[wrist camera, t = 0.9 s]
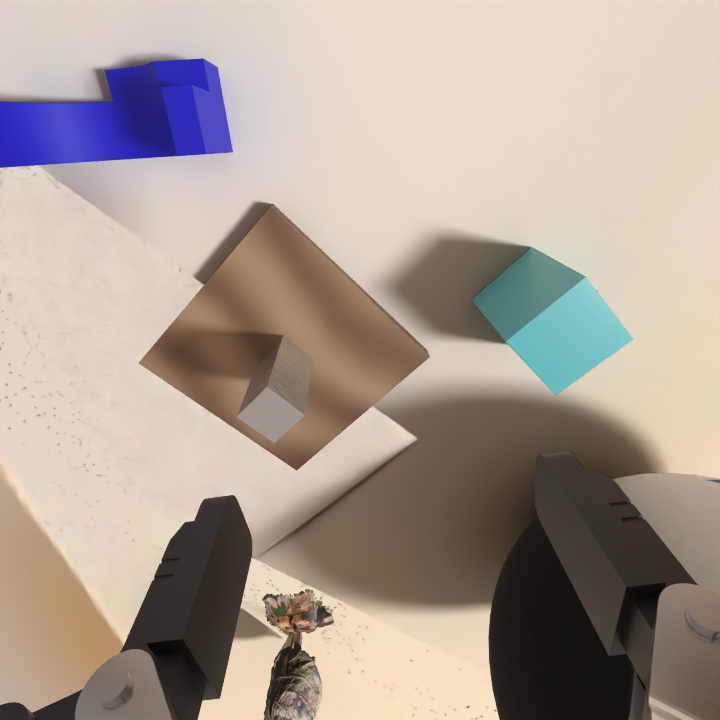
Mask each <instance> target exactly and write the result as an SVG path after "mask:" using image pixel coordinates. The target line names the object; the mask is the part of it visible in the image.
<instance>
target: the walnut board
mask: <svg viewBox="0 0 720 720" xmlns="http://www.w3.org/2000/svg"><path fill="white" fill-rule="evenodd" d="M283 335H284V336H285V337H286V338H287V339H289V340H290V341H291V342H292V343H293V344H295V345H296V346H297V347H298V348H300V349H301V350H302V351H303V352H304V353H306V354H307V355H308V356H309V357H311V358H312V359H313V363H312V370H311V377H310V384H309V392H308V399H307V406H306V413H305V416H304V417H303V418H302V419H300V420H299V421H298V422H297V423H296V424H295V425H294V426H293V427H292V428H291V429H289V430H288V431H287V432H286V433H285V434H284V435H283V436H282V437H281V438H280V439H278V440H277V441H276V442H275V443H273V442H272V441H270V440H269V439H268V438H266V437H265V436H263V435H262V434H260V433H259V432H257V431H256V430H255V429H253V428H252V427H250V426H249V425H247V424H246V423H244V422H243V421H242V420H240V419H239V418H237V414H238V412H239V409H240V406H241V404H242V401H243V399H244V396H245V394H246V391H247V388H248V386H249V383H250V381H251V378H252V376H253V373H254V370H255V368H256V365H257V363H258V360H259V359H260V358H261V357H262V356H263V355H264V354H265V353H266V352H267V351H268V350H269V349H270V348H271V347H272V346H273V345H274V344H275V343H276V342H277V341H278V340H279V339H280V338H281V337H282V336H283ZM429 357H430V356H429V354H428V351H427V350H426V349H425V348H424V347H423V346H422V345H421V344H420V343H419V342H418V341H417V340H416V339H415V338H414V337H413V336H412V335H411V334H409V333H408V332H407V331H406V330H405V329H404V328H403V327H402V326H401V325H400V324H399V323H398V322H397V321H396V320H395V319H394V318H393V317H392V316H390V315H389V314H388V313H387V312H386V311H385V310H384V309H383V308H382V307H381V306H380V305H379V304H378V303H377V302H376V301H375V300H374V299H373V298H371V297H370V296H369V295H368V294H367V293H366V292H365V291H364V290H363V289H362V288H361V287H360V286H359V285H358V284H357V283H356V282H355V281H354V280H353V279H351V278H350V277H349V276H348V275H347V274H346V273H345V272H344V271H343V270H342V269H341V268H340V267H339V266H338V265H337V264H336V263H335V262H334V261H332V260H331V259H330V258H329V257H328V256H327V255H326V254H325V253H324V252H323V251H322V250H321V249H320V248H319V247H318V246H317V245H316V244H315V243H313V242H312V241H311V240H310V239H309V238H308V237H307V236H306V235H305V234H304V233H303V232H302V231H301V230H300V229H299V228H298V227H297V226H296V225H294V224H293V223H292V222H291V221H290V220H289V219H288V218H287V217H286V216H285V215H284V214H283V213H282V212H281V211H280V210H279V209H278V208H277V207H275V206H274V205H272V206H271V207H270V208H269V209H268V210H267V211H266V212H265V214H264V215H263V216H262V217H261V218H260V220H259V221H258V222H257V223H256V224H255V226H254V227H253V228H252V229H251V230H250V231H249V233H248V234H247V235H246V236H245V237H244V239H243V240H242V241H241V242H240V243H239V244H238V246H237V247H236V248H235V249H234V250H233V252H232V253H231V254H230V255H229V256H228V258H227V259H226V260H225V261H224V262H223V263H222V265H221V266H220V267H219V268H218V269H217V271H216V272H215V273H214V274H213V275H212V277H211V278H210V279H209V280H208V281H207V282H206V284H205V285H204V286H203V287H202V288H201V290H200V291H199V292H198V293H197V294H196V295H195V297H194V298H193V299H192V300H191V301H190V303H189V304H188V305H187V306H186V307H185V309H184V310H183V311H182V312H181V313H180V314H179V316H178V317H177V318H176V319H175V320H174V322H173V323H172V324H171V325H170V326H169V328H168V329H167V330H166V331H165V332H164V333H163V335H162V336H161V337H160V338H159V339H158V341H157V342H156V343H155V344H154V345H153V347H152V348H151V349H150V350H149V351H148V352H147V354H146V355H145V356H144V357H143V358H142V360H141V361H140V362H139V364H141V365H142V366H143V367H145V368H146V369H148V370H149V371H151V372H152V373H154V374H155V375H157V376H158V377H160V378H161V379H163V380H164V381H166V382H167V383H169V384H170V385H171V386H173V387H174V388H176V389H177V390H179V391H180V392H182V393H183V394H185V395H186V396H188V397H189V398H191V399H192V400H194V401H195V402H197V403H198V404H200V405H201V406H202V407H204V408H205V409H207V410H208V411H210V412H211V413H213V414H214V415H216V416H217V417H219V418H220V419H222V420H223V421H225V422H226V423H228V424H229V425H230V426H232V427H233V428H235V429H236V430H238V431H239V432H241V433H242V434H244V435H245V436H247V437H248V438H250V439H251V440H253V441H254V442H256V443H257V444H258V445H260V446H261V447H263V448H264V449H266V450H267V451H269V452H270V453H272V454H273V455H275V456H276V457H278V458H279V459H281V460H282V461H284V462H285V463H287V464H288V465H289V466H291V467H292V468H294V469H295V470H298V469H299V468H300V467H301V466H302V465H304V464H305V463H306V462H307V461H308V460H309V459H311V458H312V457H313V456H314V455H315V454H317V453H318V452H319V451H320V450H321V449H322V448H324V447H325V446H326V445H327V444H328V443H329V442H331V441H332V440H333V439H334V438H335V437H336V436H338V435H339V434H340V433H341V432H342V431H343V430H345V429H346V428H347V427H348V426H349V425H351V424H352V423H353V422H354V421H355V420H356V419H358V418H359V417H360V416H361V415H362V414H363V413H365V412H366V411H367V410H368V409H369V408H370V407H372V406H373V405H374V404H375V403H376V402H378V401H379V400H380V399H381V398H382V397H383V396H385V395H386V394H387V393H388V392H389V391H390V390H392V389H393V388H394V387H395V386H396V385H397V384H399V383H400V382H401V381H402V380H403V379H404V378H406V377H407V376H408V375H409V374H410V373H412V372H413V371H414V370H415V369H416V368H417V367H419V366H420V365H421V364H422V363H423V362H424V361H426V360H427V359H428V358H429Z"/></svg>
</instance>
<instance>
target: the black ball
mask: <svg viewBox="0 0 720 720" xmlns="http://www.w3.org/2000/svg"><path fill="white" fill-rule="evenodd" d="M612 480H613V481H615V482H616V483H617V484H618V485H619V487H620V488H621V489H622V490H623V492H624V493H625V494H626V495H627V497H628V498H629V499H630V500H631V504H634V505H635V507H636V508H637V509H638V510H639V512H640V513H641V514H642V517H643V519H646V521H647V522H648V523H649V524H650V526H651V527H652V528H653V529H654V531H655V532H656V533H657V534H658V536H659V537H660V538H661V539H662V541H663V542H664V543H665V545H666V546H667V547H668V548H669V550H670V551H671V552H672V553H673V555H674V556H675V557H676V558H677V560H678V561H679V562H680V563H681V565H682V566H683V567H684V568H685V570H686V571H687V572H688V574H689V575H690V576H691V577H692V578H693V579H694V581H695V582H696V583H697V584H698V585H699V586H702V587H705V588H707V589H710V590H712V591H714V592H716V593H718V594H720V479H717V478H711V477H705V476H698V475H689V474H675V473H651V474H638V475H629V476H623V477H618V478H613V479H612ZM489 662H490V672H491V680H492V688H493V693H494V697H495V702H496V706H497V711H498V715H499V719H500V720H629V715H630V707H631V699H632V691H633V683H634V676H635V672H636V670H635V668H634V666H633V664H632V662H631V661H630V659H629V657H628V655H627V654H622V655H613V656H609V655H608V653H607V651H606V649H605V647H604V645H603V643H602V641H601V640H600V638H599V636H598V634H597V632H596V630H595V628H594V626H593V624H592V622H591V620H590V618H589V616H588V614H587V612H586V610H585V608H584V606H583V604H582V602H581V600H580V599H579V597H578V595H577V593H576V591H575V589H574V587H573V585H572V583H571V581H570V579H569V577H568V575H567V573H566V571H565V569H564V567H563V565H562V563H561V561H560V559H559V558H558V556H557V554H556V552H555V550H554V548H553V546H552V544H551V542H550V540H549V538H548V536H547V534H546V532H545V530H544V528H543V526H542V524H541V522H540V520H539V518H538V517H537V518H536V519H535V520H534V521H533V522H532V523H531V524H530V525H529V526H528V527H527V528H526V530H525V531H524V532H523V534H522V535H521V536H520V537H519V539H518V540H517V542H516V543H515V545H514V546H513V548H512V550H511V552H510V553H509V555H508V557H507V559H506V561H505V563H504V565H503V568H502V570H501V573H500V576H499V579H498V582H497V585H496V589H495V593H494V597H493V601H492V607H491V614H490V624H489Z"/></svg>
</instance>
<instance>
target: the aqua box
mask: <svg viewBox="0 0 720 720" xmlns="http://www.w3.org/2000/svg"><path fill="white" fill-rule="evenodd" d="M472 301H473V303H474V304H475V305H476V306H477V308H478V309H479V310H480V311H481V312H482V314H483V315H484V316H485V317H486V319H487V320H488V321H489V322H490V323H491V325H492V326H493V327H494V328H495V330H496V331H497V332H498V333H499V334H500V336H501V337H502V338H503V339H504V341H505V342H506V343H507V344H508V345H509V346H510V347H511V348H512V349H513V350H514V351H515V352H516V354H517V355H518V356H519V357H520V358H521V359H522V360H523V361H524V362H525V363H526V364H527V365H528V366H529V367H530V368H531V370H532V371H533V372H534V373H535V374H536V375H537V376H538V377H539V378H540V379H541V380H542V381H543V382H544V383H545V384H546V386H547V387H548V388H549V389H550V390H551V391H552V392H553V393H554V394H555V395H557V394H559V393H560V392H561V391H563V390H564V389H565V388H567V387H568V386H570V385H571V384H572V383H574V382H575V381H576V380H578V379H579V378H581V377H582V376H583V375H585V374H586V373H587V372H589V371H590V370H592V369H593V368H594V367H596V366H597V365H598V364H600V363H601V362H603V361H604V360H605V359H607V358H608V357H610V356H611V355H612V354H614V353H615V352H616V351H618V350H619V349H621V348H622V347H623V346H625V345H626V344H627V343H629V342H630V341H632V340H633V338H632V337H631V335H630V334H629V333H628V331H627V330H626V329H625V328H624V326H623V325H622V324H621V322H620V321H619V320H618V318H617V317H616V316H615V314H614V313H613V312H612V311H611V309H610V308H609V307H608V305H607V304H606V303H605V301H604V300H603V299H602V297H601V296H600V295H599V293H598V292H597V291H596V290H595V288H594V287H593V286H592V284H591V283H590V282H589V280H588V279H587V278H586V277H585V276H583V275H582V274H580V273H578V272H576V271H574V270H572V269H571V268H569V267H567V266H565V265H563V264H562V263H560V262H558V261H556V260H554V259H552V258H551V257H549V256H547V255H545V254H543V253H542V252H540V251H538V250H536V249H534V248H532V247H531V248H530V249H529V250H528V251H526V252H525V253H524V254H523V255H522V256H521V257H520V258H518V259H517V260H516V261H515V262H514V263H513V264H512V265H510V266H509V267H508V268H507V269H506V270H505V271H504V272H502V273H501V274H500V275H499V276H498V277H497V278H496V279H494V280H493V281H492V282H491V283H490V284H489V285H488V286H486V287H485V288H484V289H483V290H482V291H481V292H480V293H478V294H477V295H476V296H475V297H474V298H473V299H472Z"/></svg>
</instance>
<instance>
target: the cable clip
mask: <svg viewBox="0 0 720 720" xmlns="http://www.w3.org/2000/svg"><path fill="white" fill-rule="evenodd" d="M105 73H106V76H107V80H108V84H109V87H110V91H111V94H112V98H113V101H114V102H96V103H20V102H0V168H2V167H17V166H32V165H46V164H61V163H76V162H91V161H106V160H121V159H137V158H152V157H167V156H185V155H200V154H214V153H228V152H233V151H232V145H231V140H230V134H229V129H228V123H227V117H226V112H225V106H224V101H223V95H222V90H221V84H220V79H219V73H218V67H216V66H215V65H213V64H211V63H210V62H208V61H206V60H205V59H189V60H174V61H158V62H152V63H149V64H146V65H142V66H137V67H132V68H125V69H115V70H105Z"/></svg>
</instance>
